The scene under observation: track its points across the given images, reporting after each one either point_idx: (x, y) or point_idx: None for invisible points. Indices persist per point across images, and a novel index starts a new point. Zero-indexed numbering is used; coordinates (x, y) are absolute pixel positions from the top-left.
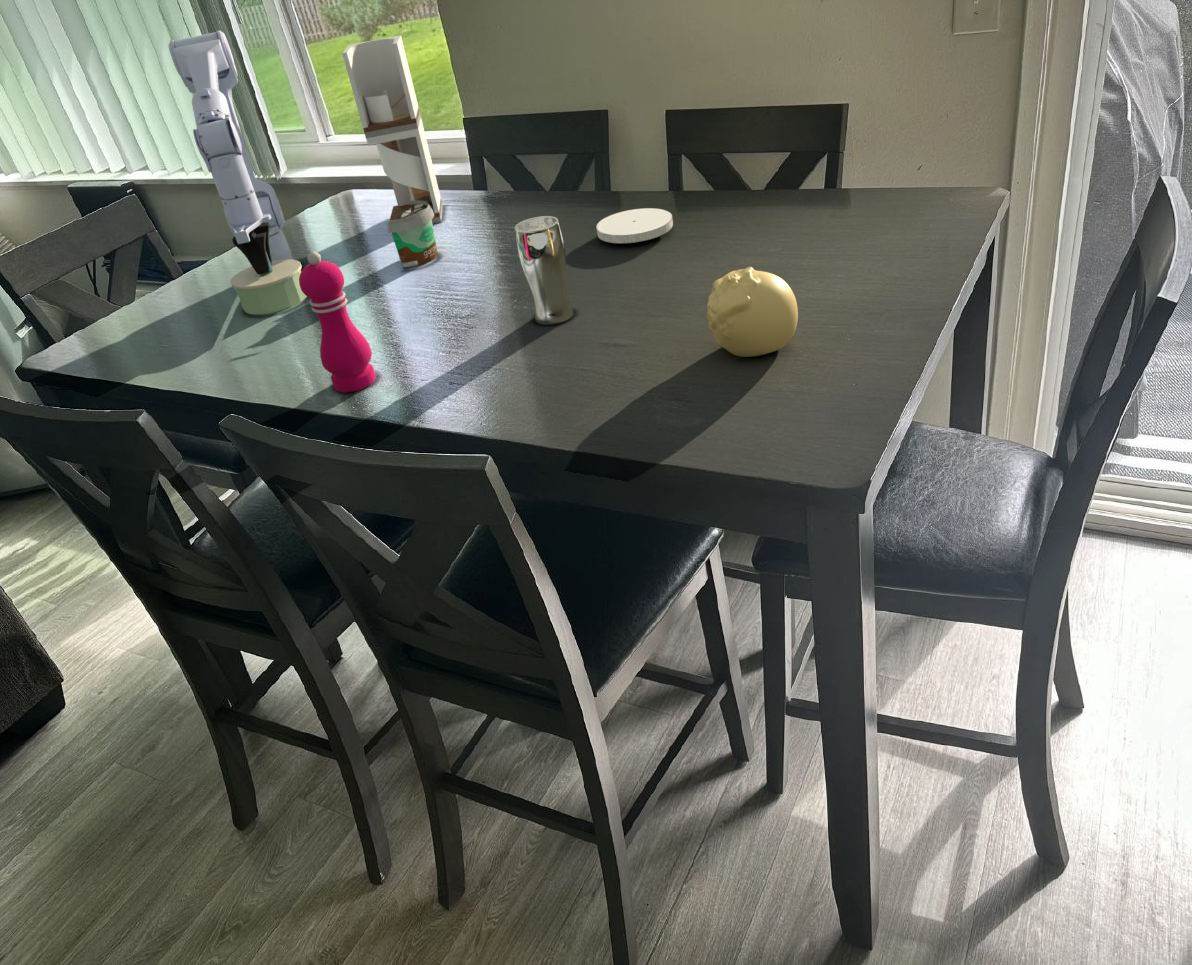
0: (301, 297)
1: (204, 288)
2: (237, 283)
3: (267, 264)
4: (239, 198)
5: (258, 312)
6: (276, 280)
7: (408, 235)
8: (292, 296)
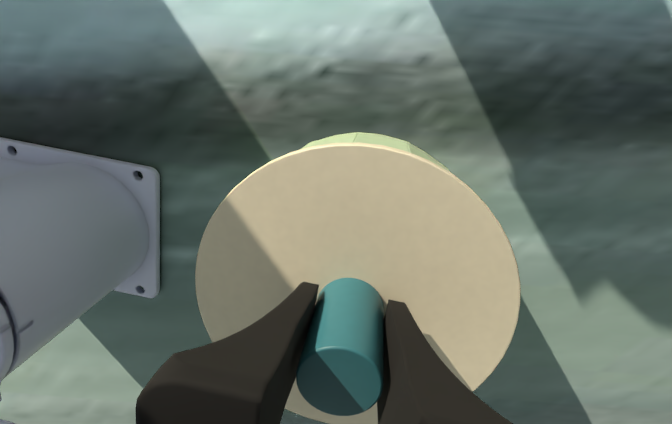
0: (437, 163)
1: (75, 403)
2: None
3: (414, 321)
4: None
5: None
6: (517, 276)
7: None
8: None
